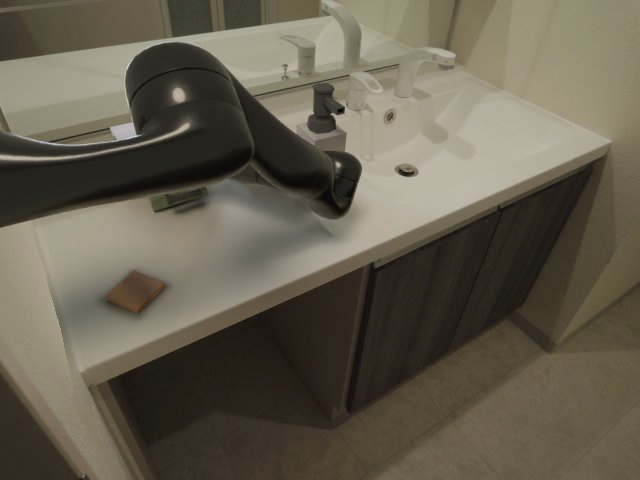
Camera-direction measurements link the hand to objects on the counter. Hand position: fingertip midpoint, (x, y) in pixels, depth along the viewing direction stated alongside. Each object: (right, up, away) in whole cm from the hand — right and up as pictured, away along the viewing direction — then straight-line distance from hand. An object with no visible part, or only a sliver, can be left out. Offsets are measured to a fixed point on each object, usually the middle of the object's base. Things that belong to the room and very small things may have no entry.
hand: (164, 135), depth 74 cm
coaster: (0, -26, -11) cm, 29 cm away
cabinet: (-7, -3, +15) cm, 17 cm away
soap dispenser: (+28, -10, +9) cm, 31 cm away
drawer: (-1, -9, +7) cm, 12 cm away
